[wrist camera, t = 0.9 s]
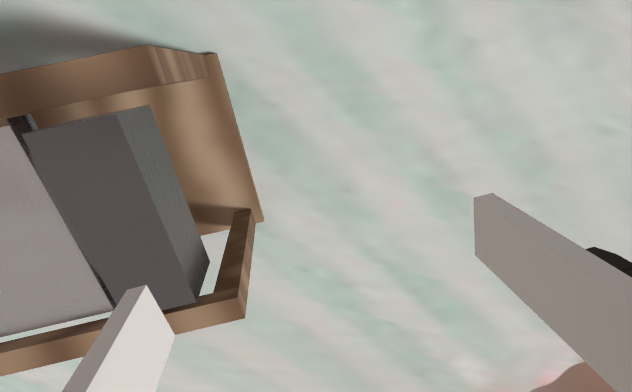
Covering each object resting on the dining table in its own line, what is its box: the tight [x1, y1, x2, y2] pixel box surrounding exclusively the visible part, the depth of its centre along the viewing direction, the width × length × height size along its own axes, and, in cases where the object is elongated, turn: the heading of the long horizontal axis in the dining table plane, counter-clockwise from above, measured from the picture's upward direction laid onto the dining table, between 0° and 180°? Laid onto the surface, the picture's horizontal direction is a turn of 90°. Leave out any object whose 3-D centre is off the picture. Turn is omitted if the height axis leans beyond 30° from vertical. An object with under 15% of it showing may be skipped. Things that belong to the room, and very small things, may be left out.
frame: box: [0, 45, 264, 376], centre depth 28 cm, size 28×19×17 cm
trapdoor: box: [0, 104, 210, 337], centre depth 22 cm, size 20×15×5 cm
